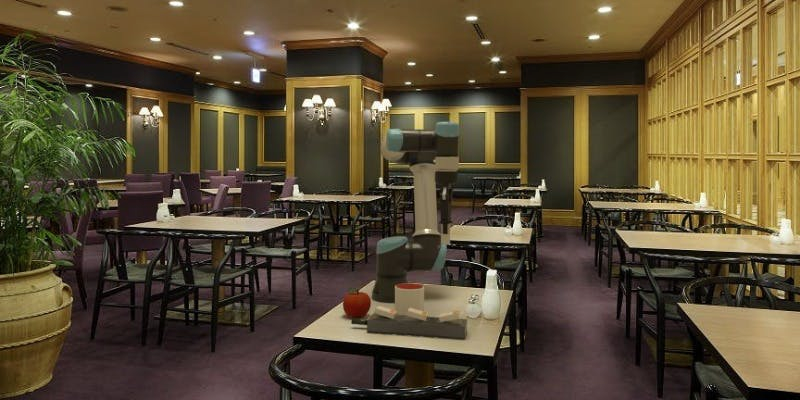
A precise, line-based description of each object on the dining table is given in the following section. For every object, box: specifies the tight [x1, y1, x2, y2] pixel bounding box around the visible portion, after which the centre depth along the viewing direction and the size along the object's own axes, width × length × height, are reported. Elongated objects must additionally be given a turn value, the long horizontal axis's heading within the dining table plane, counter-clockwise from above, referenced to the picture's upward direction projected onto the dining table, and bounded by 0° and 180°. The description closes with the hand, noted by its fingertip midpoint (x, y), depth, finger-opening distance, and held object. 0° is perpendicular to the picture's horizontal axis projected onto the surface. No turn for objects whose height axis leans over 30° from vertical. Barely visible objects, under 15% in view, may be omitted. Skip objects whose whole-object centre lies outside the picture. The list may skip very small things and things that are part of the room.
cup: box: [394, 282, 425, 315], centre depth 201 cm, size 10×10×10 cm
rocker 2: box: [407, 308, 429, 321], centre depth 181 cm, size 4×6×2 cm, turn 79°
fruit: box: [342, 287, 372, 319], centre depth 198 cm, size 10×10×10 cm
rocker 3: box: [438, 310, 461, 322], centre depth 179 cm, size 4×6×2 cm, turn 79°
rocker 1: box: [374, 305, 397, 319], centre depth 183 cm, size 4×6×2 cm, turn 79°
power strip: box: [351, 312, 468, 341], centre depth 182 cm, size 8×36×4 cm, turn 79°
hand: (445, 243), depth 189 cm, fingers closed
